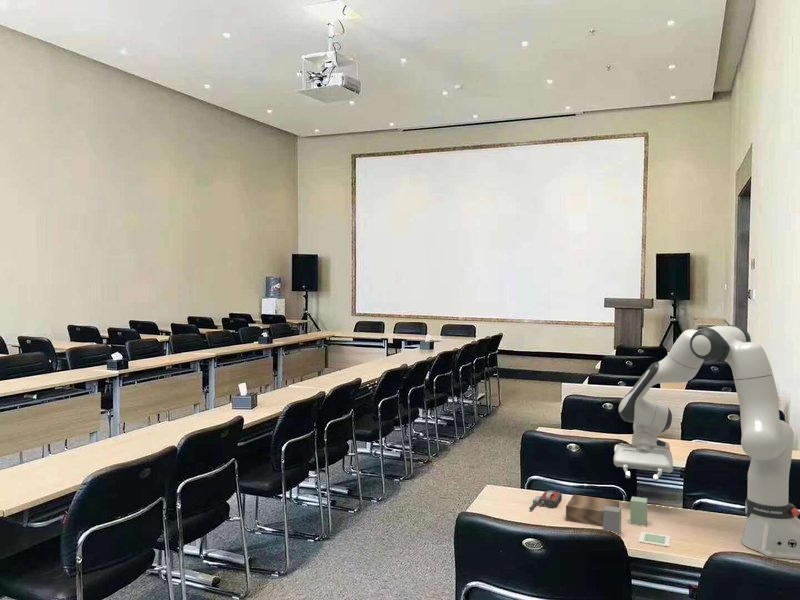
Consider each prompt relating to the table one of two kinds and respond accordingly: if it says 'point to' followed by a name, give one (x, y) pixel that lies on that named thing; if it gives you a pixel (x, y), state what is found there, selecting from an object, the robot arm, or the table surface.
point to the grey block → (612, 519)
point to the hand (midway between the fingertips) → (641, 478)
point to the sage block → (638, 511)
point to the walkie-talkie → (547, 500)
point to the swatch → (654, 539)
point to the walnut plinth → (587, 509)
